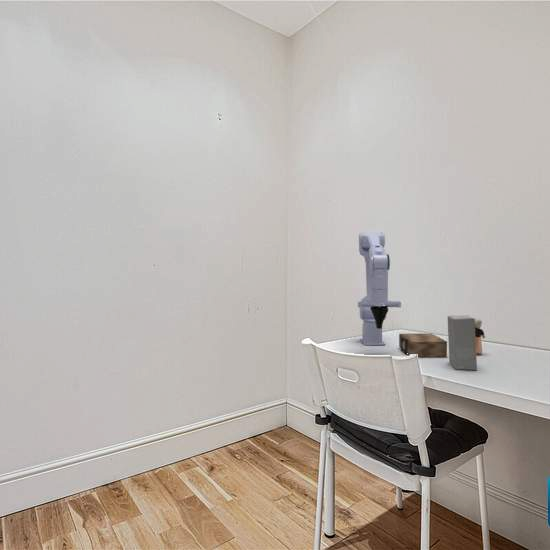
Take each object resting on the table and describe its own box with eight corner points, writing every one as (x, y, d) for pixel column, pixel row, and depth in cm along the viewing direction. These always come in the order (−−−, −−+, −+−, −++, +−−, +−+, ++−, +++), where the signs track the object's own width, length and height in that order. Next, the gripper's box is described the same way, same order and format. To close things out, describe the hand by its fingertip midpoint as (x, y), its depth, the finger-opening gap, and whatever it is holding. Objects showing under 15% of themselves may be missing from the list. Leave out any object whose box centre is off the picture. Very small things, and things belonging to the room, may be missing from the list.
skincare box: (477, 370, 123) (478, 318, 123) (452, 369, 125) (452, 318, 124) (469, 363, 132) (470, 314, 131) (446, 362, 133) (446, 313, 132)
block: (409, 357, 139) (409, 341, 139) (397, 347, 153) (397, 333, 153) (446, 357, 139) (447, 341, 139) (431, 347, 153) (431, 333, 153)
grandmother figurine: (475, 357, 140) (475, 320, 139) (464, 354, 143) (465, 318, 142) (488, 353, 144) (489, 317, 143) (477, 351, 147) (478, 316, 146)
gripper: (360, 290, 138) (360, 330, 139) (403, 290, 138) (403, 330, 139) (356, 288, 145) (356, 326, 146) (397, 288, 145) (397, 326, 146)
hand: (379, 328), depth 143 cm, fingers closed
